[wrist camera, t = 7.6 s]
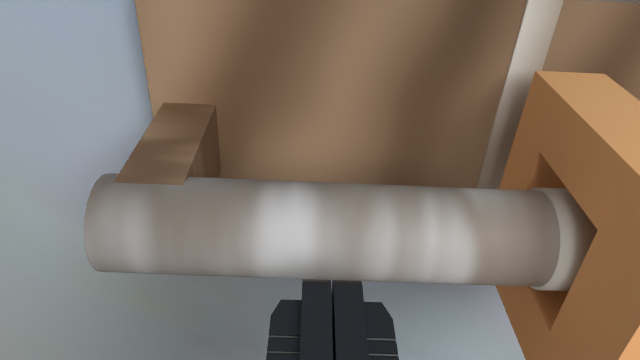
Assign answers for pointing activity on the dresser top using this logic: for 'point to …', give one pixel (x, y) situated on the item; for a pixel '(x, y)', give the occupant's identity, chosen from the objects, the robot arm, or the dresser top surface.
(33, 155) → the dresser top surface
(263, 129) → the pipe stand
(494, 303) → the dresser top surface
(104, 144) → the dresser top surface
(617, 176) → the collar
